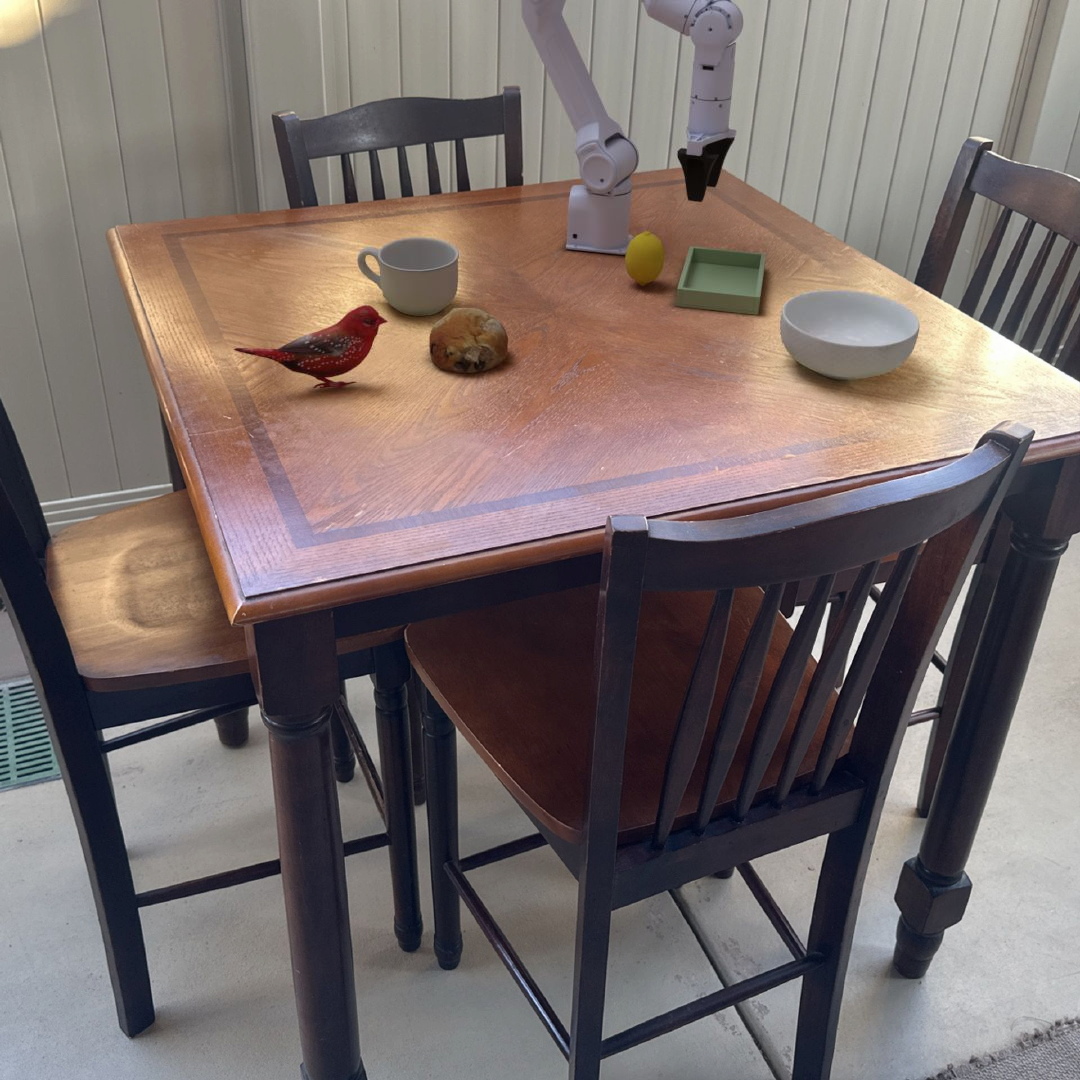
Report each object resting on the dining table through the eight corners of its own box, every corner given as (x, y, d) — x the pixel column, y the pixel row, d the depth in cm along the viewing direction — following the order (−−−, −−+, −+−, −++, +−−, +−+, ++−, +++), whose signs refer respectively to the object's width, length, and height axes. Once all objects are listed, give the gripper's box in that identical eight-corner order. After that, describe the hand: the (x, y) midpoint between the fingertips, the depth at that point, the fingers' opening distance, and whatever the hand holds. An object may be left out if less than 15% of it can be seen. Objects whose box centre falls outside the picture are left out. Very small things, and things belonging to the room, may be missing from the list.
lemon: (662, 293, 161) (668, 239, 156) (624, 292, 161) (628, 237, 156) (660, 279, 166) (665, 225, 161) (622, 277, 166) (626, 224, 161)
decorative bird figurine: (393, 387, 135) (389, 308, 129) (241, 403, 130) (230, 322, 125) (388, 376, 137) (384, 299, 131) (239, 392, 133) (228, 312, 127)
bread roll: (513, 379, 145) (523, 317, 144) (487, 378, 135) (498, 311, 134) (442, 366, 148) (452, 305, 146) (411, 364, 138) (421, 298, 137)
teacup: (473, 301, 157) (473, 245, 152) (434, 329, 149) (433, 271, 144) (387, 282, 161) (384, 228, 157) (345, 309, 153) (340, 252, 149)
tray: (675, 306, 157) (677, 288, 156) (688, 262, 171) (689, 245, 170) (757, 315, 156) (760, 297, 154) (763, 270, 170) (766, 253, 168)
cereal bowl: (765, 336, 150) (773, 285, 146) (891, 341, 150) (902, 291, 146) (784, 395, 136) (793, 340, 132) (922, 400, 136) (936, 346, 132)
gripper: (726, 110, 152) (716, 211, 159) (750, 88, 163) (740, 182, 170) (675, 105, 154) (668, 204, 161) (703, 83, 165) (695, 177, 173)
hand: (702, 193), depth 166 cm, fingers open, 7 cm apart
